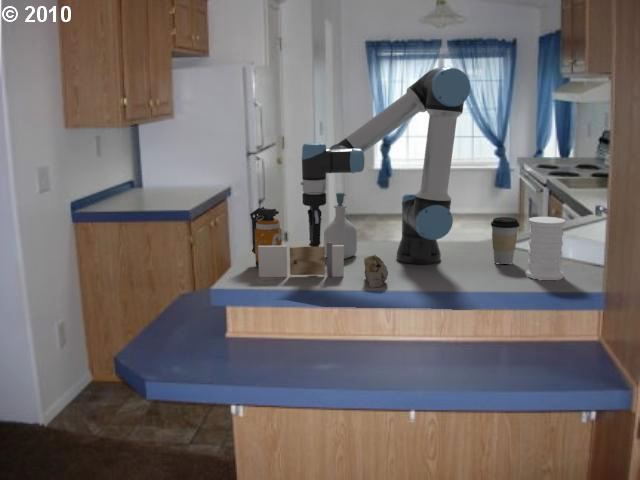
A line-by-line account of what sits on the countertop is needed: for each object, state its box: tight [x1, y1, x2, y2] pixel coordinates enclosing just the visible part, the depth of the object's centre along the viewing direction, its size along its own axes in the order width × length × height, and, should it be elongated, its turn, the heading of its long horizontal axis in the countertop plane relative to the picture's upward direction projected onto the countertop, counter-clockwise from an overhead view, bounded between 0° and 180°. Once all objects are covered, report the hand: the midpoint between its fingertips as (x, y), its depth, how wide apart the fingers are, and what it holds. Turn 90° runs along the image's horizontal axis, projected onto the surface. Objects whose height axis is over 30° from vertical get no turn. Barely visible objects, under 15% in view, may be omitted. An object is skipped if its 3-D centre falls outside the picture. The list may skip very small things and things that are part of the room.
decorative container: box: [524, 216, 566, 281], centre depth 229 cm, size 12×12×18 cm
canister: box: [249, 206, 283, 268], centre depth 247 cm, size 9×11×20 cm
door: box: [289, 245, 326, 276], centre depth 233 cm, size 11×2×9 cm, turn 90°
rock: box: [363, 254, 389, 288], centre depth 226 cm, size 12×7×10 cm, turn 1°
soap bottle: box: [323, 192, 358, 260], centre depth 258 cm, size 10×10×23 cm
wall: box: [258, 242, 345, 278], centre depth 233 cm, size 27×2×11 cm, turn 88°
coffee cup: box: [490, 216, 521, 265], centre depth 247 cm, size 9×9×15 cm
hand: (315, 264), depth 237 cm, fingers closed
